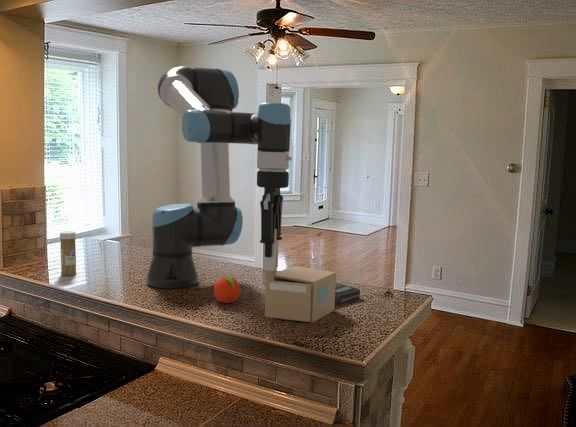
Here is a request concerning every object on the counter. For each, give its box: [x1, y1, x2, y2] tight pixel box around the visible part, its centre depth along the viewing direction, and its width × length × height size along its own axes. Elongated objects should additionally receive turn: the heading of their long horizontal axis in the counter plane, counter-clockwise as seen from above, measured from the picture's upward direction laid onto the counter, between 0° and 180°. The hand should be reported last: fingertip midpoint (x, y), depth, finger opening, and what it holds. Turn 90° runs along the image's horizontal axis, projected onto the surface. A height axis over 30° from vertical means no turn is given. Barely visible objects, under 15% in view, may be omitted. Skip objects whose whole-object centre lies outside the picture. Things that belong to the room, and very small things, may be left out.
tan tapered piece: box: [264, 229, 312, 323], centre depth 127 cm, size 12×3×22 cm, turn 75°
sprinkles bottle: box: [59, 230, 77, 277], centre depth 166 cm, size 5×5×13 cm
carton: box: [274, 265, 337, 324], centre depth 135 cm, size 12×12×10 cm
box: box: [335, 282, 361, 307], centre depth 151 cm, size 14×4×20 cm
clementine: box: [213, 275, 241, 304], centre depth 141 cm, size 8×7×7 cm
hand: (270, 268), depth 128 cm, fingers closed on tan tapered piece, 3 cm apart
